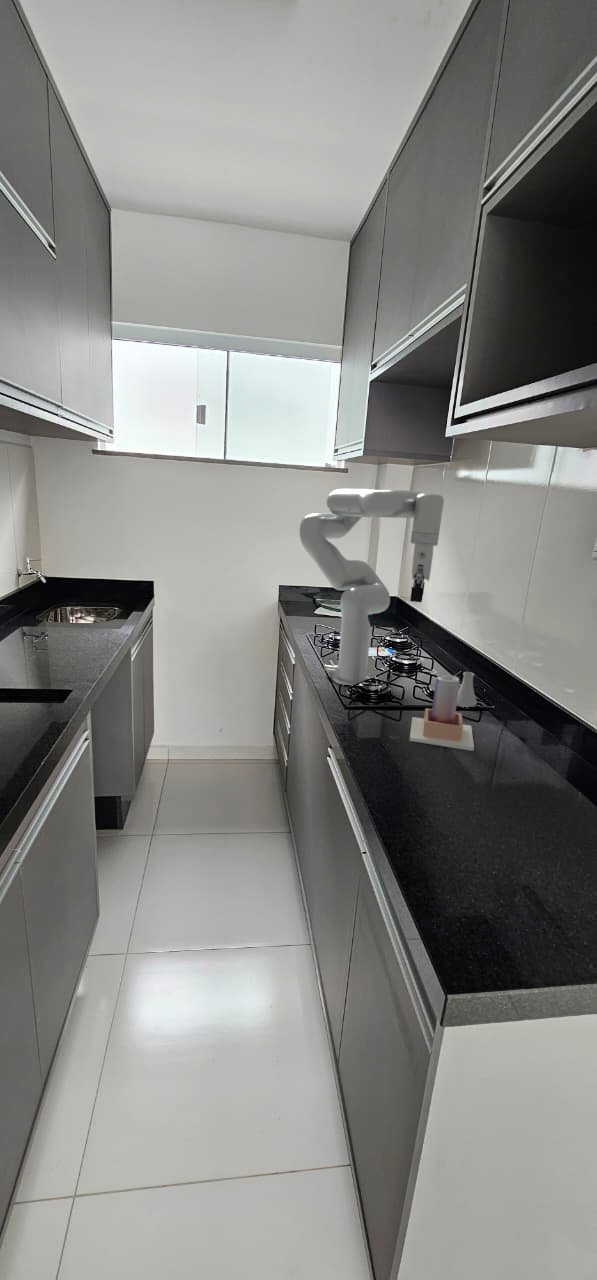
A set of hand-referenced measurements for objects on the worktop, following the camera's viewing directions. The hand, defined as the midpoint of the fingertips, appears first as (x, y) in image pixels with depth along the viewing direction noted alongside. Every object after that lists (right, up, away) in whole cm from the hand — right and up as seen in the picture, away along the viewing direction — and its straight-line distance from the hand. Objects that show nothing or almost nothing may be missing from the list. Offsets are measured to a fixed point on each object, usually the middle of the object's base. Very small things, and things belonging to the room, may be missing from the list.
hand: (416, 598), depth 168 cm
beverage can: (+4, -36, -13) cm, 39 cm away
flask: (+17, -32, +10) cm, 37 cm away
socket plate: (+4, -37, -13) cm, 40 cm away
